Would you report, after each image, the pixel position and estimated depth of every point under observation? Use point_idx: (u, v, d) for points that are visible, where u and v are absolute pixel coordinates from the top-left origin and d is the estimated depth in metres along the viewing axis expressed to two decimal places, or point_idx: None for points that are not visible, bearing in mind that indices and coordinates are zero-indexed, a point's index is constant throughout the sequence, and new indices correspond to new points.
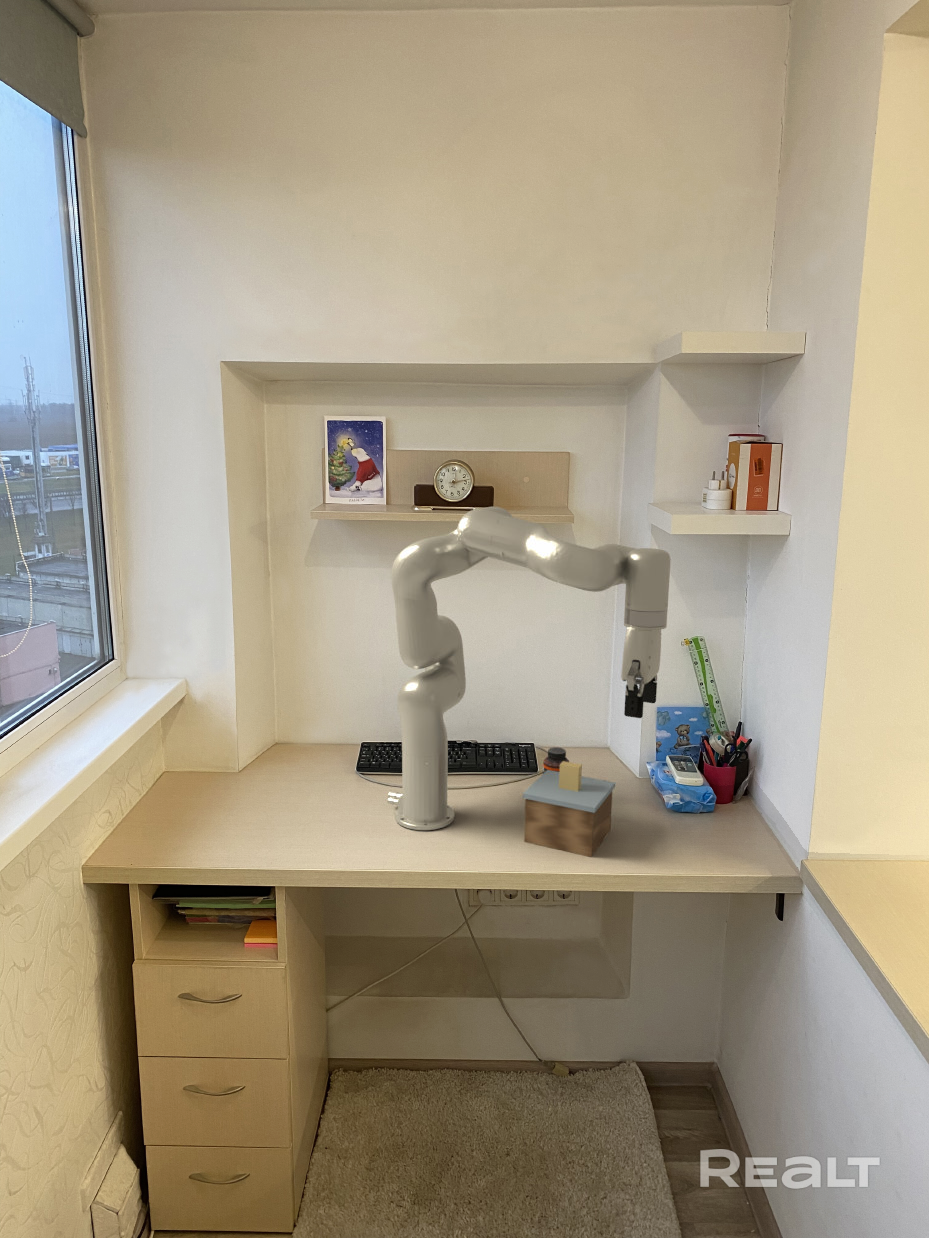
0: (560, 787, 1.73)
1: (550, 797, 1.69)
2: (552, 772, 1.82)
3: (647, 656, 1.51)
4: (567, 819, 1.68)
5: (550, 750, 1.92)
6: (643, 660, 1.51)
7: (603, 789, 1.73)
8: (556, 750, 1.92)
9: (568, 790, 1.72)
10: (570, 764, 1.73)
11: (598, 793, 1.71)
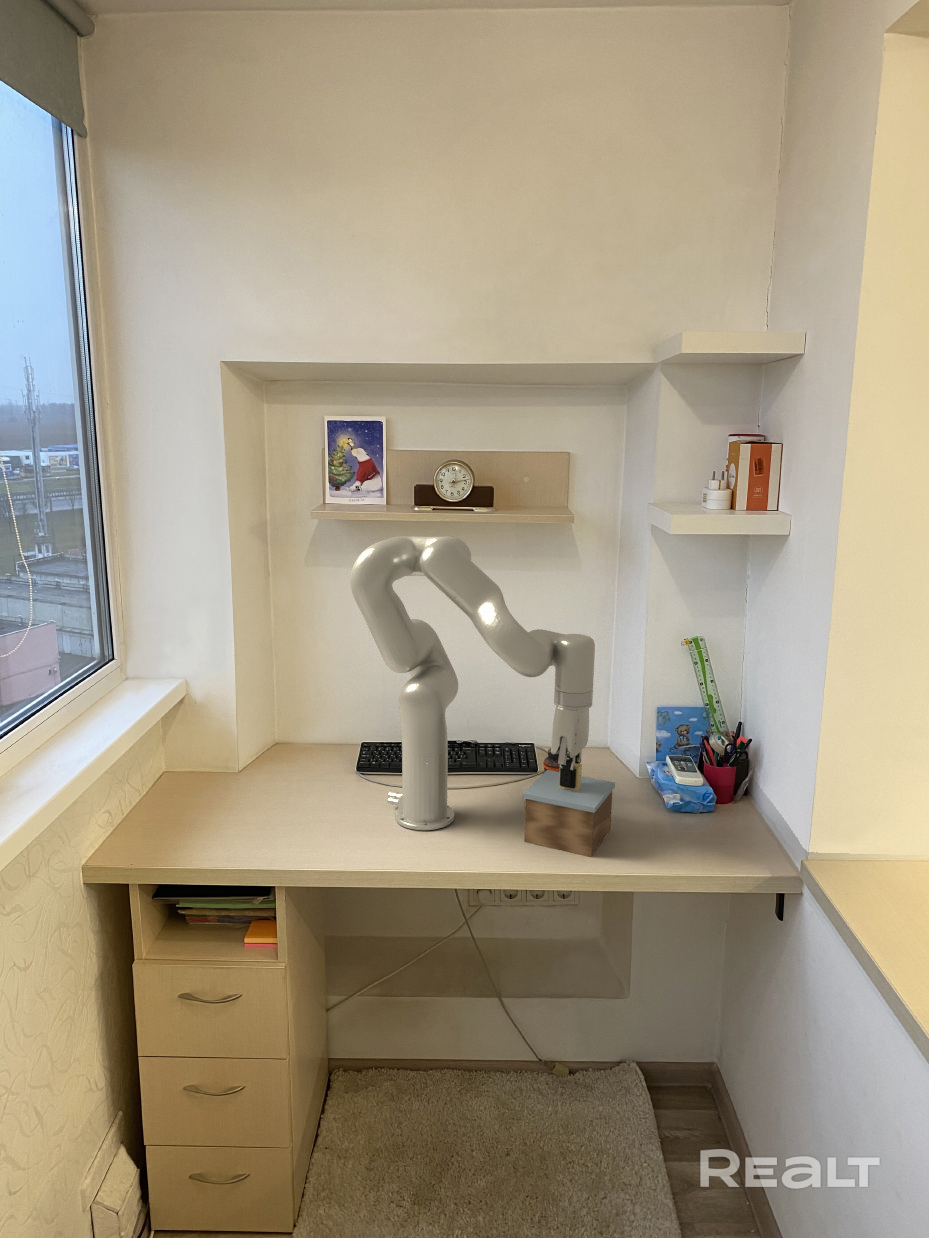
0: (560, 787, 1.73)
1: (550, 797, 1.69)
2: (552, 772, 1.82)
3: (573, 733, 1.66)
4: (567, 819, 1.68)
5: (550, 750, 1.92)
6: (569, 736, 1.66)
7: (603, 789, 1.73)
8: None
9: (568, 790, 1.72)
10: None
11: (598, 793, 1.71)
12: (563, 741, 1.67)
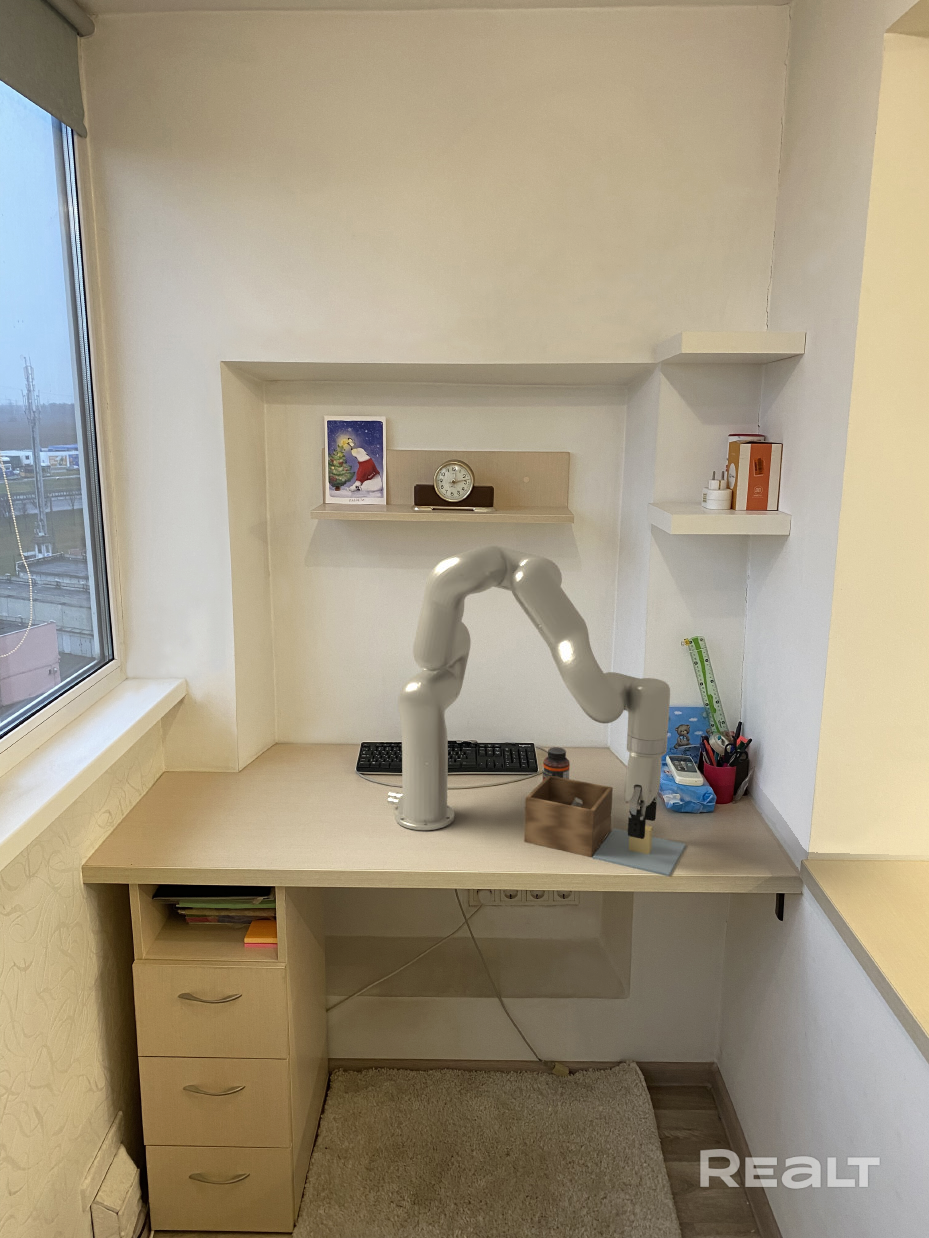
0: (630, 849, 1.69)
1: (621, 861, 1.65)
2: (619, 831, 1.77)
3: (648, 781, 1.61)
4: (567, 819, 1.68)
5: (550, 750, 1.92)
6: (644, 785, 1.61)
7: (674, 852, 1.69)
8: (556, 750, 1.92)
9: (638, 853, 1.68)
10: None
11: (670, 856, 1.67)
12: None
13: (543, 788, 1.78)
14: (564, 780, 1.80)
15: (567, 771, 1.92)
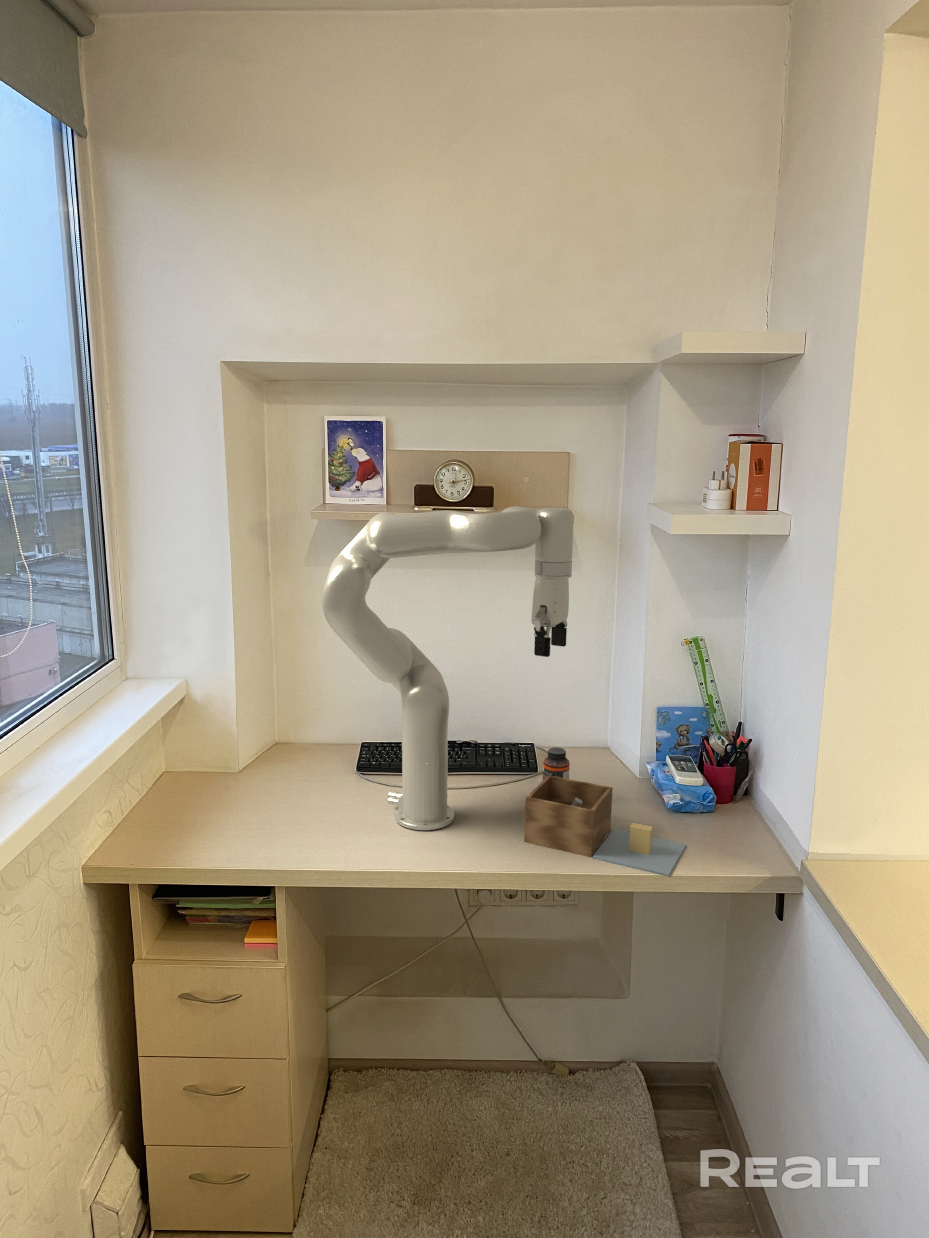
0: (630, 849, 1.69)
1: (621, 861, 1.65)
2: (620, 831, 1.77)
3: (552, 601, 1.71)
4: (567, 819, 1.68)
5: (550, 750, 1.92)
6: (549, 605, 1.72)
7: (674, 852, 1.69)
8: (556, 750, 1.92)
9: (639, 853, 1.68)
10: (641, 826, 1.68)
11: (670, 857, 1.67)
12: None
13: (543, 788, 1.78)
14: (564, 780, 1.80)
15: (567, 771, 1.92)
